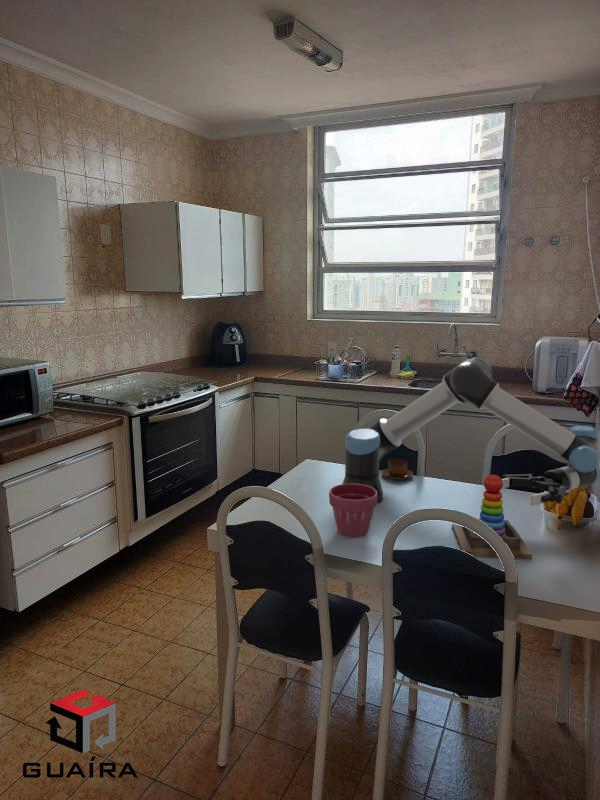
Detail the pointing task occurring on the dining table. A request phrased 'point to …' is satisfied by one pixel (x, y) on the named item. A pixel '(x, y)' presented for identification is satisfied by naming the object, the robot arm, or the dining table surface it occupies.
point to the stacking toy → (493, 505)
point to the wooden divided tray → (482, 548)
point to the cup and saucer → (397, 470)
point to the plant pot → (353, 508)
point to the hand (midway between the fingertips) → (511, 493)
